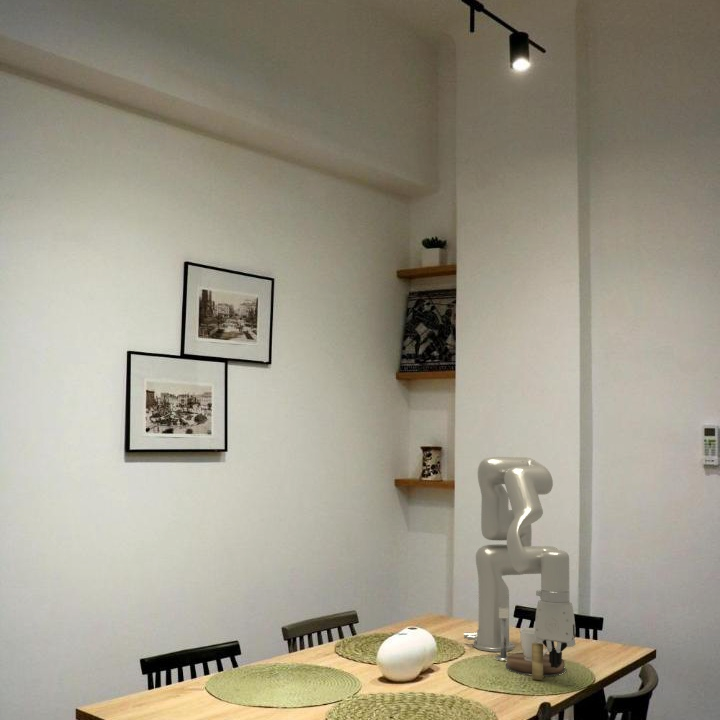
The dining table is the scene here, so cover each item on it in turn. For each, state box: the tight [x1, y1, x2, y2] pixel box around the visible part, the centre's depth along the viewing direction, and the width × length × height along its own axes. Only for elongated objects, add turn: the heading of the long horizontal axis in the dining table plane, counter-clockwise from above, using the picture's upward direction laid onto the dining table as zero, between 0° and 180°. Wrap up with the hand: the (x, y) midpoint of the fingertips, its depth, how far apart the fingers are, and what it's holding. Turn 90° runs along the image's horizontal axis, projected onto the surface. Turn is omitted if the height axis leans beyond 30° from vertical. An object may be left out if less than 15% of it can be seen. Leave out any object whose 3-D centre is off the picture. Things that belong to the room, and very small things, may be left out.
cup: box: [519, 627, 549, 661], centre depth 245 cm, size 7×10×8 cm
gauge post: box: [494, 607, 510, 661], centre depth 254 cm, size 5×5×15 cm
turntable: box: [506, 643, 565, 681], centre depth 241 cm, size 22×16×9 cm
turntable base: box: [505, 662, 567, 677], centre depth 244 cm, size 17×17×1 cm
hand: (555, 666), depth 229 cm, fingers closed
